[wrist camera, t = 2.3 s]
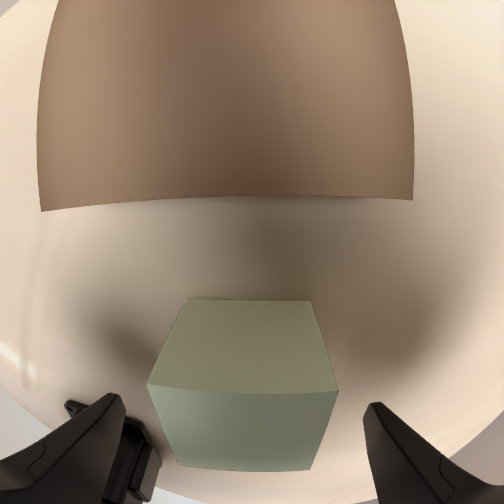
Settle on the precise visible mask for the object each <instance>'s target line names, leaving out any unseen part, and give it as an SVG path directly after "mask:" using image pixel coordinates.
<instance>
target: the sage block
mask: <svg viewBox="0 0 504 504" xmlns="http://www.w3.org/2000/svg"><path fill="white" fill-rule="evenodd" d="M146 386H147V389H148V392H149V395H150V397H151V400H152V403H153V406H154V408H155V411H156V414H157V416H158V419H159V421H160V424H161V426H162V428H163V431H164V433H165V436H166V438H167V440H168V442H169V445H170V447H171V449H172V451H173V453H174V456H175V458H176V460H177V462H178V464H179V465H184V466H190V467H198V468H206V469H216V470H228V471H247V472H281V471H301V470H310V468H311V465H312V463H313V461H314V458H315V456H316V453H317V451H318V448H319V446H320V443H321V441H322V438H323V435H324V433H325V430H326V427H327V424H328V422H329V419H330V416H331V413H332V410H333V407H334V404H335V401H336V398H337V395H338V391H339V390H338V386H337V383H336V379H335V376H334V373H333V369H332V366H331V363H330V359H329V356H328V353H327V350H326V346H325V343H324V340H323V337H322V334H321V331H320V327H319V324H318V321H317V318H316V315H315V312H314V309H313V306H312V303H311V301H259V300H216V299H191V298H186V300H185V302H184V304H183V306H182V308H181V310H180V313H179V315H178V317H177V319H176V321H175V323H174V325H173V327H172V329H171V331H170V333H169V335H168V337H167V339H166V341H165V343H164V345H163V347H162V350H161V352H160V354H159V356H158V358H157V360H156V362H155V364H154V367H153V369H152V371H151V373H150V375H149V377H148V380H147V382H146Z"/></svg>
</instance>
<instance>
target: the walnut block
mask: <svg viewBox="0 0 504 504" xmlns="http://www.w3.org/2000/svg"><path fill="white" fill-rule="evenodd" d="M37 172H38V186H39V197H40V205H41V212H44V211H51V210H58V209H65V208H73V207H81V206H90V205H99V204H109V203H120V202H131V201H143V200H157V199H172V198H190V197H213V196H249V195H312V196H348V197H370V198H388V199H403V200H413V184H414V121H413V105H412V93H411V84H410V75H409V68H408V61H407V55H406V49H405V44H404V39H403V34H402V29H401V25H400V20H399V16H398V12H397V9H396V5H395V1H394V0H59V2H58V5H57V8H56V11H55V14H54V18H53V21H52V25H51V29H50V33H49V37H48V41H47V46H46V51H45V56H44V61H43V67H42V74H41V81H40V89H39V99H38V113H37Z"/></svg>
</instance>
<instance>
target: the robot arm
mask: <svg viewBox="0 0 504 504" xmlns="http://www.w3.org/2000/svg"><path fill="white" fill-rule="evenodd" d="M64 407H65V408H66V410H67V411H68V413H69V415H70V416H71V418H72V419H70V420H69V421H67V422H66V423H64V424H63V425H61V426H60V427H58V428H57V429H55V430H54V431H52V432H51V433H49V434H48V435H46V436H45V437H43V438H42V439H40V440H39V441H37V442H35V443H34V444H32V445H31V446H29V447H27V448H25V449H23V450H21V451H19V452H17V453H15V454H13V455H11V456H8V457H6V458H4V459H2V460H0V504H142V503H143V502H149V501H151V497H152V493H153V490H154V486H155V483H156V479H157V475H158V472H159V468H160V467H161V466H162V461H161V459H160V457H159V455H158V453H157V451H156V450H155V448H154V446H153V444H152V442H151V440H150V438H149V437H148V435H147V433H146V430H145V428H144V426H143V425H142V424H141V423H140V422H138V421H136V420H132V419H128V418H125V414H126V409H125V406H124V404H123V402H122V399H121V397H120V396H119V395H118V394H115V393H107V394H106V395H105V396H103V397H102V398H100V399H99V400H97V401H96V402H95V403H93V404H92V405H90V406H89V407H85V406H82V405H79V404H76V403H73V402H70V401H66V403H65V404H64ZM363 425H364V432H365V439H366V447H367V454H368V459H369V463H370V467H371V471H372V475H373V479H374V484H375V488H376V492H377V497H378V501H379V504H504V485H500V486H499V485H491V484H488V483H486V482H484V481H482V480H480V479H478V478H477V477H475V476H473V475H472V474H470V473H468V472H467V471H465V470H463V469H462V468H460V467H459V466H457V465H456V464H455V463H453V462H452V461H451V460H449V459H448V458H447V457H446V456H444V455H443V454H441V452H439V451H438V450H437V449H436V448H435V447H433V446H432V445H431V444H430V443H429V442H427V441H426V440H425V439H424V438H423V437H421V436H420V435H419V434H418V433H417V432H415V431H414V430H413V429H412V428H411V427H410V426H408V425H407V424H406V423H405V422H404V421H403V420H401V419H400V418H399V417H398V416H397V415H396V414H394V413H393V412H392V411H391V410H390V409H389V408H387V407H386V406H385V405H384V404H383V403H382V402H373V403H370V404H369V405H368V408H367V410H366V412H365V414H364V417H363Z"/></svg>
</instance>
